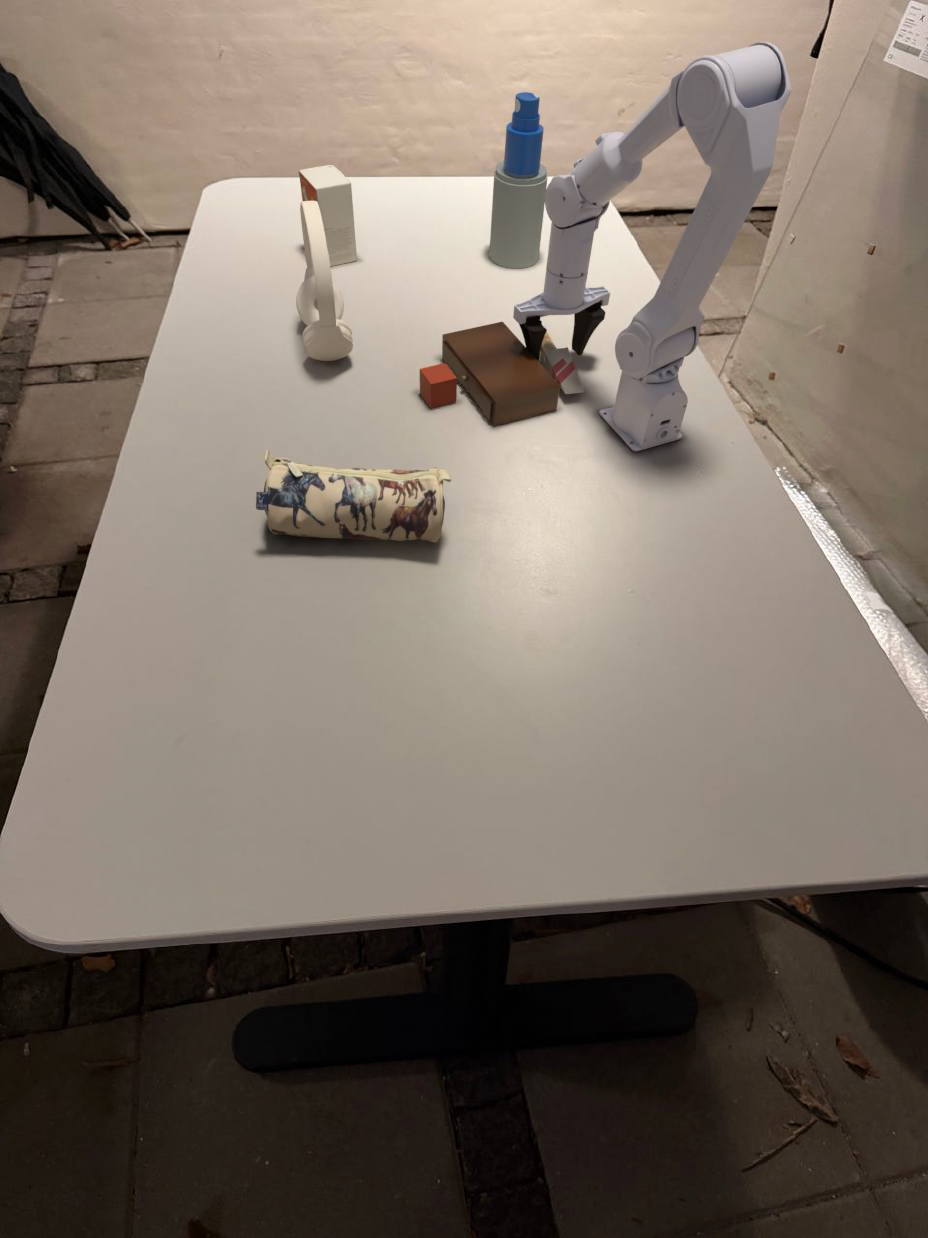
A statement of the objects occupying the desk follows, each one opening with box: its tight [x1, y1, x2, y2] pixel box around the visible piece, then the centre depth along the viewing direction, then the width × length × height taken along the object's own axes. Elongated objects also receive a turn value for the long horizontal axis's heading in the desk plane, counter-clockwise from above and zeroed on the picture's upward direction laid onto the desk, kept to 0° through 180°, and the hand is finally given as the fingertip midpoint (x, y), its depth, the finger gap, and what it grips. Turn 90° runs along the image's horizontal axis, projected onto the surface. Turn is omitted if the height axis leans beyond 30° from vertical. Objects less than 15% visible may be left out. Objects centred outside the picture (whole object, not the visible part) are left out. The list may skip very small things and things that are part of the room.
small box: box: [298, 164, 358, 267], centre depth 132 cm, size 8×6×13 cm
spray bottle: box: [488, 91, 548, 270], centre depth 129 cm, size 9×9×25 cm
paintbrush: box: [541, 324, 585, 395], centre depth 117 cm, size 4×3×20 cm
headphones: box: [295, 201, 354, 362], centre depth 111 cm, size 7×18×20 cm, turn 13°
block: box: [419, 362, 458, 409], centre depth 110 cm, size 4×4×4 cm
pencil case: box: [255, 449, 452, 543], centre depth 90 cm, size 22×8×10 cm, turn 88°
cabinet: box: [441, 321, 561, 427], centre depth 112 cm, size 18×11×4 cm, turn 25°
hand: (554, 356), depth 116 cm, fingers open, 7 cm apart
